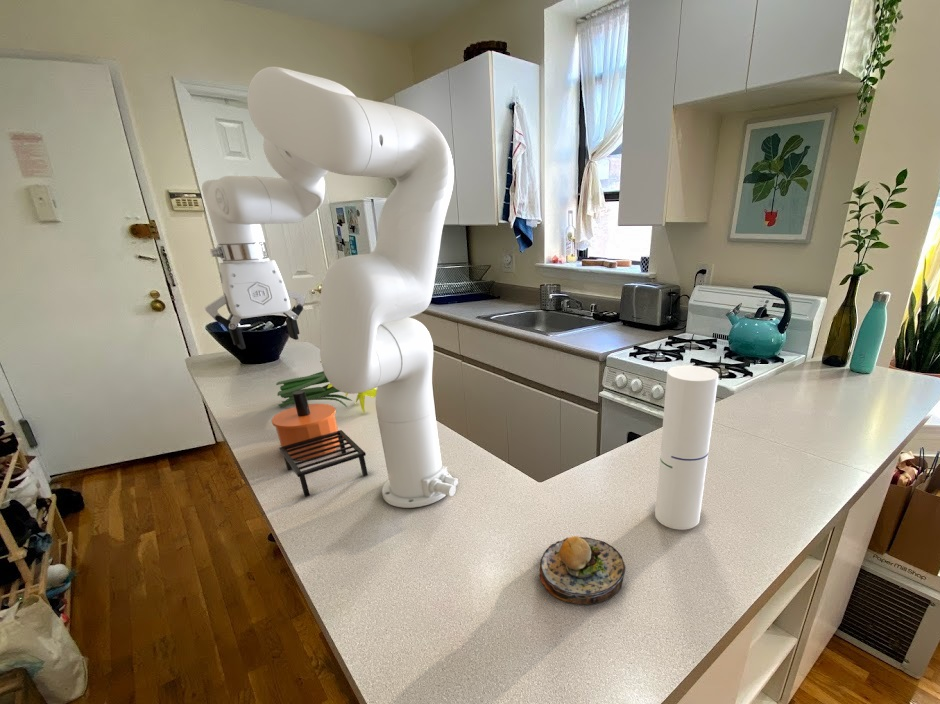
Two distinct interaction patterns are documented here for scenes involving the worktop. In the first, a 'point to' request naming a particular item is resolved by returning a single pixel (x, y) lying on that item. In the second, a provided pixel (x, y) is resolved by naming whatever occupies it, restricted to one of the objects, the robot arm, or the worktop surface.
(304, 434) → the pot
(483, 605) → the worktop surface
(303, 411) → the lid
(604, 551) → the burger
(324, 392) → the daffodil flowers
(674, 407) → the cylindrical container
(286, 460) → the rack
